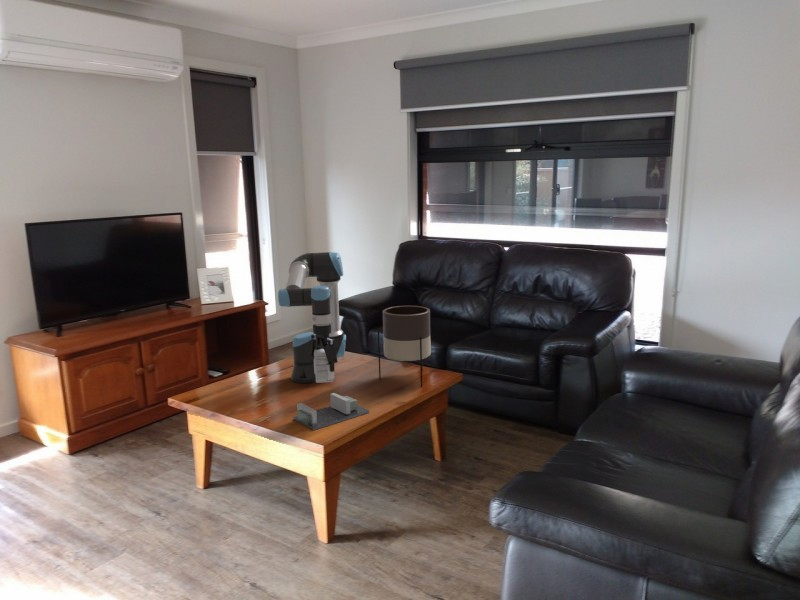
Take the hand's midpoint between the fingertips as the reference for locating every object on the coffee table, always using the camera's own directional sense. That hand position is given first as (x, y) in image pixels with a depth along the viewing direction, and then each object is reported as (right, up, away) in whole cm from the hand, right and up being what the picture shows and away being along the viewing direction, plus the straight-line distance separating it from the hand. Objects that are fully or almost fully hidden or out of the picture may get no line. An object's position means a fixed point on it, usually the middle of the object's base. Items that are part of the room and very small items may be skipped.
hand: (324, 375), depth 252 cm
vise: (+3, -18, +5) cm, 18 cm away
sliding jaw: (+8, -15, +9) cm, 19 cm away
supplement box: (0, -2, 0) cm, 2 cm away
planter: (+37, -8, +50) cm, 63 cm away
